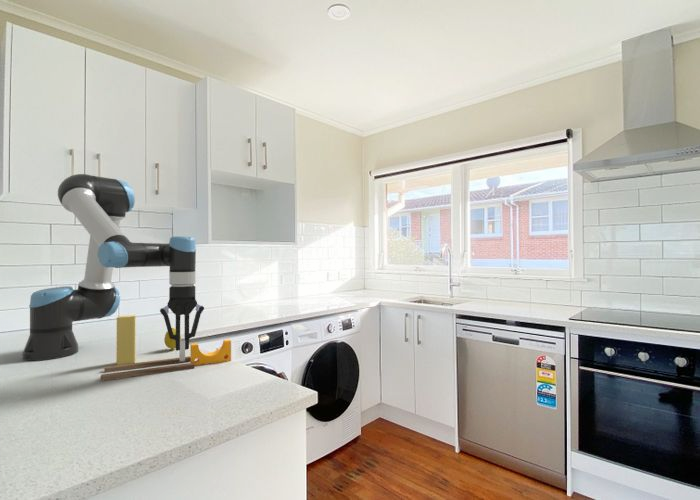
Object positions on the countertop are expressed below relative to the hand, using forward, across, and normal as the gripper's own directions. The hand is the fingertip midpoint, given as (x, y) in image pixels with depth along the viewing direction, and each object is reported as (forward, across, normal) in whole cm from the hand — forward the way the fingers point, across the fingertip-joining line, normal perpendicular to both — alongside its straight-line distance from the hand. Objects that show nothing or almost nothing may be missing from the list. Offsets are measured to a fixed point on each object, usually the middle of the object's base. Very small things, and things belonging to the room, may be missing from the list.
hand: (182, 360), depth 116 cm
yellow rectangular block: (+2, +16, -12) cm, 20 cm away
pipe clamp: (+2, -8, 0) cm, 9 cm away
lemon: (+2, +2, -23) cm, 23 cm away
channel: (+2, +9, 0) cm, 9 cm away
